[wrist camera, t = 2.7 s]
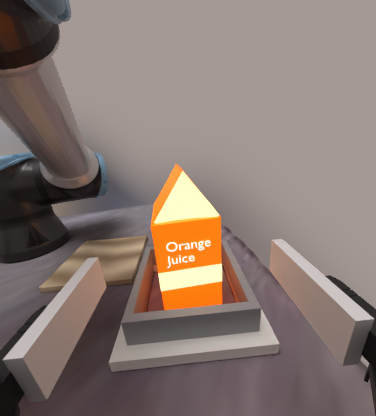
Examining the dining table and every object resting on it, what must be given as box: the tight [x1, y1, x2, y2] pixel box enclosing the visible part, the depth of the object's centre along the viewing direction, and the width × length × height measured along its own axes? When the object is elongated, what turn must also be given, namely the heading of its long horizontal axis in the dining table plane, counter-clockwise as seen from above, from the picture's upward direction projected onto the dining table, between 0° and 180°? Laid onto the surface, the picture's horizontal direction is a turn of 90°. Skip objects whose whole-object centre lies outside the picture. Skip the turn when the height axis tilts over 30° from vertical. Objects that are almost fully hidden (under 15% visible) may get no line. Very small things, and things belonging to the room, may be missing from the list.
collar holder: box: [109, 239, 279, 372], centre depth 27 cm, size 18×18×5 cm
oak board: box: [39, 236, 148, 293], centre depth 38 cm, size 16×16×1 cm
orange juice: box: [151, 164, 222, 310], centre depth 24 cm, size 8×9×20 cm
